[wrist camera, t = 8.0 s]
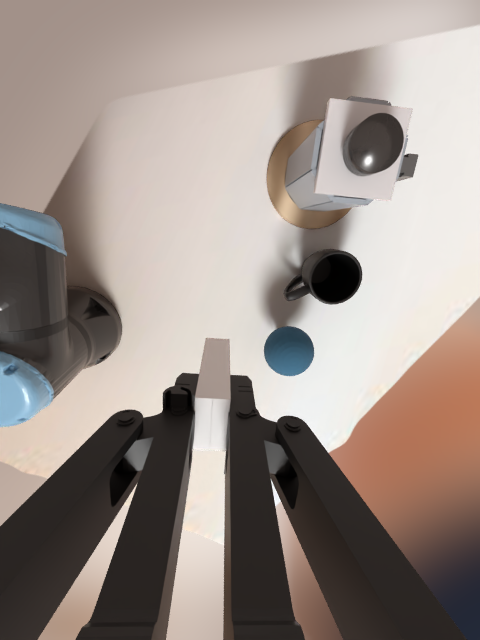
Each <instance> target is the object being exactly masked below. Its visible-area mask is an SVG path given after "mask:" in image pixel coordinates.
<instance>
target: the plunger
mask: <svg viewBox="0 0 480 640" xmlns="http://www.w3.org/2000/svg"><path fill="white" fill-rule="evenodd" d="M403 143H404V134H403V129H402V127H401V124H400V123H399V121H398V120H397V119H396V118H395V117H394V116H392V115H390V114H387V113H376V114H373V115H371V116H369V117H368V118H366V119H365V120H364V121H362V122H361V123H360V124H358V125H357V126H356V127H355V128H353V129H352V130H351V131H350V133H349V134H348V136H347V137H346V139H345V142H344V145H343V160H344V163H345V165H346V167H347V169H348V170H349V171H350V172H351V173H353V174H355V175H357V176H369V175H372V174H375V173H378V172H381V171H383V170H386V169H387V168H389V167H390V166H391V165H393V164H394V162H395V161H396V160H397V159H398V157H399V155H400V153H401V151H402V148H403ZM320 146H321V141H320ZM319 153H320V147H319ZM319 153H318V159H319ZM317 166H318V160H317ZM317 166H316V169H317ZM335 197H340V196H335Z"/></svg>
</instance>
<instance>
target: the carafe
mask: <svg viewBox="0 0 480 640" xmlns="http://www.w3.org/2000/svg"><path fill="white" fill-rule="evenodd" d="M412 110H413V109H411V108H404V107H396V106H391V104H390V102H389V103H388V101H384V100H376V99H368V98H361V97H353V96H351V97H349V98H348V99H347V100H341V99H333V98H330V99H329V100H328V102H327V108H326V114H325V120H323V121H322V122H321V123H320V124H319V125H318V126H317V127H316V128H315V129H314V130H313V132H312V133H311V134H310V135H309V136H308V137H307V138H306V139H305V140H304V141H303V143H302V144H301V145H300V146H299V147H298V148H297V149H296V150H295V151H294V153H293V154H292V155H291V156H290V157H289V159H288V163H287V168H286V173H285V187H286V188H285V189H286V191H287V192H288V195H289V196H290V198H291V200H292V201H293V202H294V203H295V204H296V205H297V206H298V208H299V209H303V210H310V211H323V212H324V211H331V210H338V209H345V208H351V207H358V206H365V205H368V204H369V203H370V202H372V201H373V200H383V201H390V200H391V198H392V194H393V190H394V185H395V182H396V181H400V180H404V179H407V178H411V177H413V174H414V170H415V166H416V163H417V159H418V155H417V154H407V155H404V153H405V149H406V145H407V141H408V138H406V137H408V135H407V131H408V127H409V123H410V118H411V114H412ZM376 113H387V114H390V115H392V116H394V117H395V118H396V119H397V120H398V121H399V123H400V124H401V127H402V129H403V134H404V143H403V148H402V151H401V153H400V155H399V157H398V159H397V160H396V161H395V162H394V164H393V165H391V166H390V167H389V168H387V169H386V170H383V171H381V172H378V173H375V174H372V175H369V176H357V175H355V174H353V173H351V172H350V171H349V170H348V169H347V167H346V165H345V163H344V160H343V145H344V142H345V139H346V137H347V136H348V134H349V133H350V131H351V130H352V129H353V128H355V127H356V126H357V125H358V124H360V123H361V122H362V121H364V120H365V119H366V118H368V117H369V116H371V115H373V114H376ZM320 141H321V146H320ZM319 147H320V153H319ZM318 153H319V159H318ZM317 160H318V166H317ZM316 166H317V169H316ZM335 196H340V197H335Z"/></svg>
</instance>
